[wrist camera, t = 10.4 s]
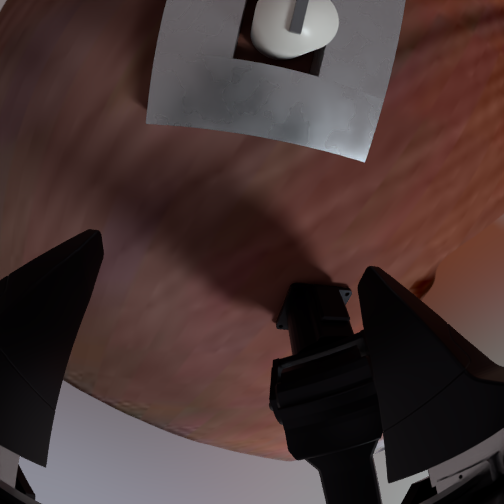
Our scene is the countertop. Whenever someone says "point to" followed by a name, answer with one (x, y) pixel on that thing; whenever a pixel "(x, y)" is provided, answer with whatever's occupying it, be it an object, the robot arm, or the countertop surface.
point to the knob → (293, 27)
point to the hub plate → (275, 77)
